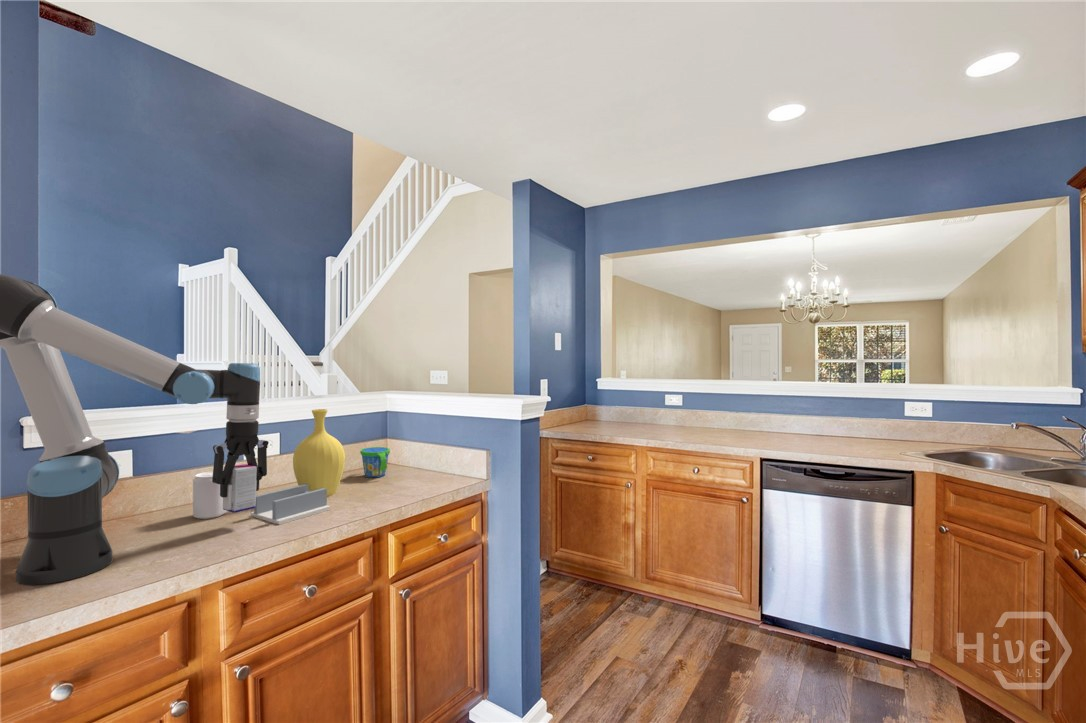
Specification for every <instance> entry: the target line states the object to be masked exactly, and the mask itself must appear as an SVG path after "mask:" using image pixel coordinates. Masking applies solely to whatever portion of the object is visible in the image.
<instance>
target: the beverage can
mask: <svg viewBox="0 0 1086 723" xmlns="http://www.w3.org/2000/svg"><path fill="white" fill-rule="evenodd" d="M194 476H195V477H194V478H193V479H192V517H194V518H196V519H200V520H209V519H214V518H215V519H216V518H218V517H221V516H223V515H224V514H226V513H227V512H228V511H227V510H223V497H221V496H220V484H216V483H213V482H212V477H213V470H212V471H210V470H209V471H205V472H204V471H203V472H199V473H197V474H195V475H194Z"/></svg>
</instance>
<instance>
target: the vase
mask: <svg viewBox="0 0 1086 723" xmlns="http://www.w3.org/2000/svg"><path fill="white" fill-rule="evenodd" d="M327 413H328V409H327V408H326V409H325V408H317V409H312V410H311V414H312V416H313V418H314V428H313V432H312V433H311V434H310V435H308V436H307V437H305V438H304V439H303V440H301V441H300V443H299V444H297V446H296V447H295V450H294V452H293V457H292V467H293V472H294V476H295V479H296V483H297V486H299V485H303V484H308V491H314V490H318V489H322V488H325V489H327V497H331V496H333V495H335V494H336V493H337V491H338V488H339V486H340V483H341V479H342V476H343V472H344V469H345V463H346V452H345V450H344V446H343V444H342V443H341V442H340V441H339V440H338V439H337V438H336V437H334V436H333V435H330V434H329V433H328V432H327V430H326V428H325V418H326V415H327Z"/></svg>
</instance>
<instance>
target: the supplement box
mask: <svg viewBox="0 0 1086 723" xmlns="http://www.w3.org/2000/svg"><path fill="white" fill-rule="evenodd" d="M256 472H257V467H256V466H251V465H248V463H247V464H246V463H244V464H243V463H242V464H237V465H236V464H235V467H234V469H233V473H232V476H231V479H230V482H229V484H231V485H232V499H231V510H227V511H226V512H230V513H233V514H237V513H240V512H245V511H249V510H254V508H255V504H256V495H257V491H256ZM223 510H226V509H223Z"/></svg>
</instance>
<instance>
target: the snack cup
mask: <svg viewBox="0 0 1086 723" xmlns="http://www.w3.org/2000/svg"><path fill="white" fill-rule="evenodd" d="M359 452H360V453H359V454H360V455H361V459H362V466H363V473H364V476H365V477H366V478H369V479H370V478H373V479H375V478H380V477H384V476H385V475H386V474H387V473H386V472H387V469H388V459H389V454H391V453H390V452H391V450H390V448H389V447H383V446H372V447H366V448H362V449H361V450H360V451H359Z"/></svg>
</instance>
